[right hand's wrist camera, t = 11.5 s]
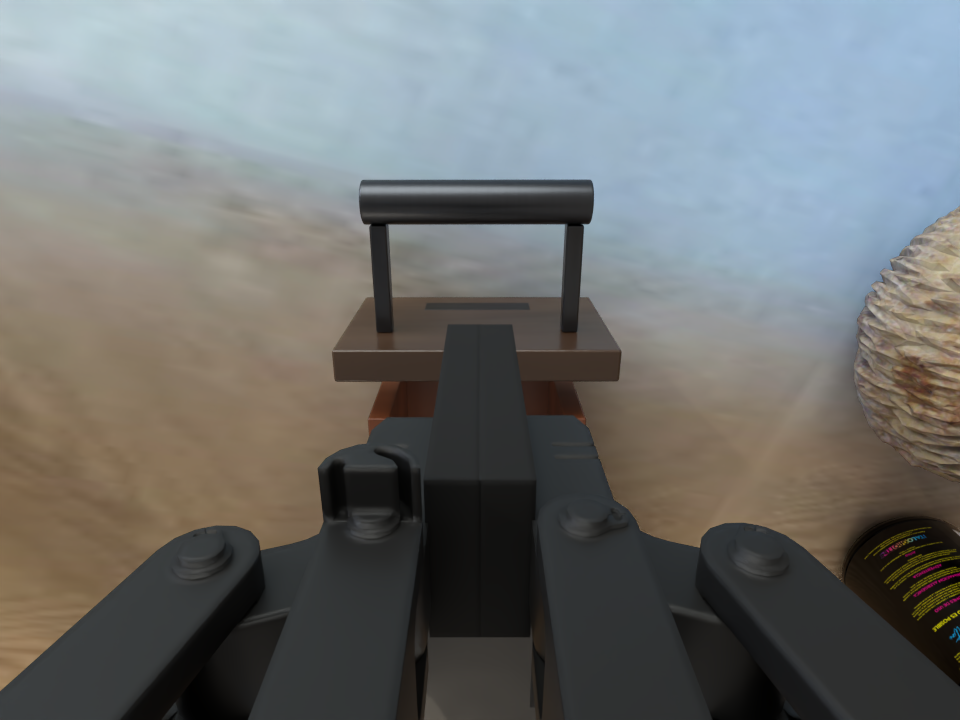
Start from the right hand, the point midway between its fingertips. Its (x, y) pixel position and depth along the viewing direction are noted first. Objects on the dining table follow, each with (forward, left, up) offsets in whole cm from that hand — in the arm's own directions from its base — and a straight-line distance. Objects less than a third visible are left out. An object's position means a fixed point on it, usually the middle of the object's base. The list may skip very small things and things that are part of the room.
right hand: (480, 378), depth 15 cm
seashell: (-4, +22, -14) cm, 26 cm away
